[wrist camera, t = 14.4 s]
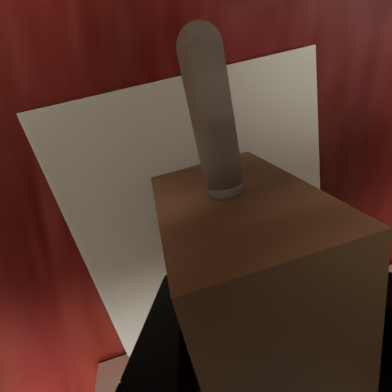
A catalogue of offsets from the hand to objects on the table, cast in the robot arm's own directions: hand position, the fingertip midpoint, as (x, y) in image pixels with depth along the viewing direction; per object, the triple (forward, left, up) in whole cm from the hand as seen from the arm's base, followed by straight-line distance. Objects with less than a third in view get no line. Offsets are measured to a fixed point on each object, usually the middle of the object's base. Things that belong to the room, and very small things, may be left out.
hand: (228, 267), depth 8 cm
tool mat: (0, -1, -3) cm, 3 cm away
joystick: (0, -2, -1) cm, 2 cm away
